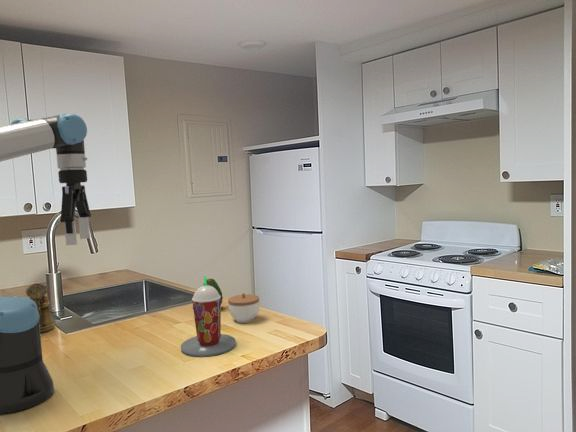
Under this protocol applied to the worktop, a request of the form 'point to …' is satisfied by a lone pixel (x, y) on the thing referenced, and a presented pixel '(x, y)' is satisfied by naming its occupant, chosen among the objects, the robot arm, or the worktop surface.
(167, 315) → the worktop surface
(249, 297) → the lidded jar
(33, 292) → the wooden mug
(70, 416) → the worktop surface
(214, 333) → the smoothie
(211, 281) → the avocado
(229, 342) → the slate plate
